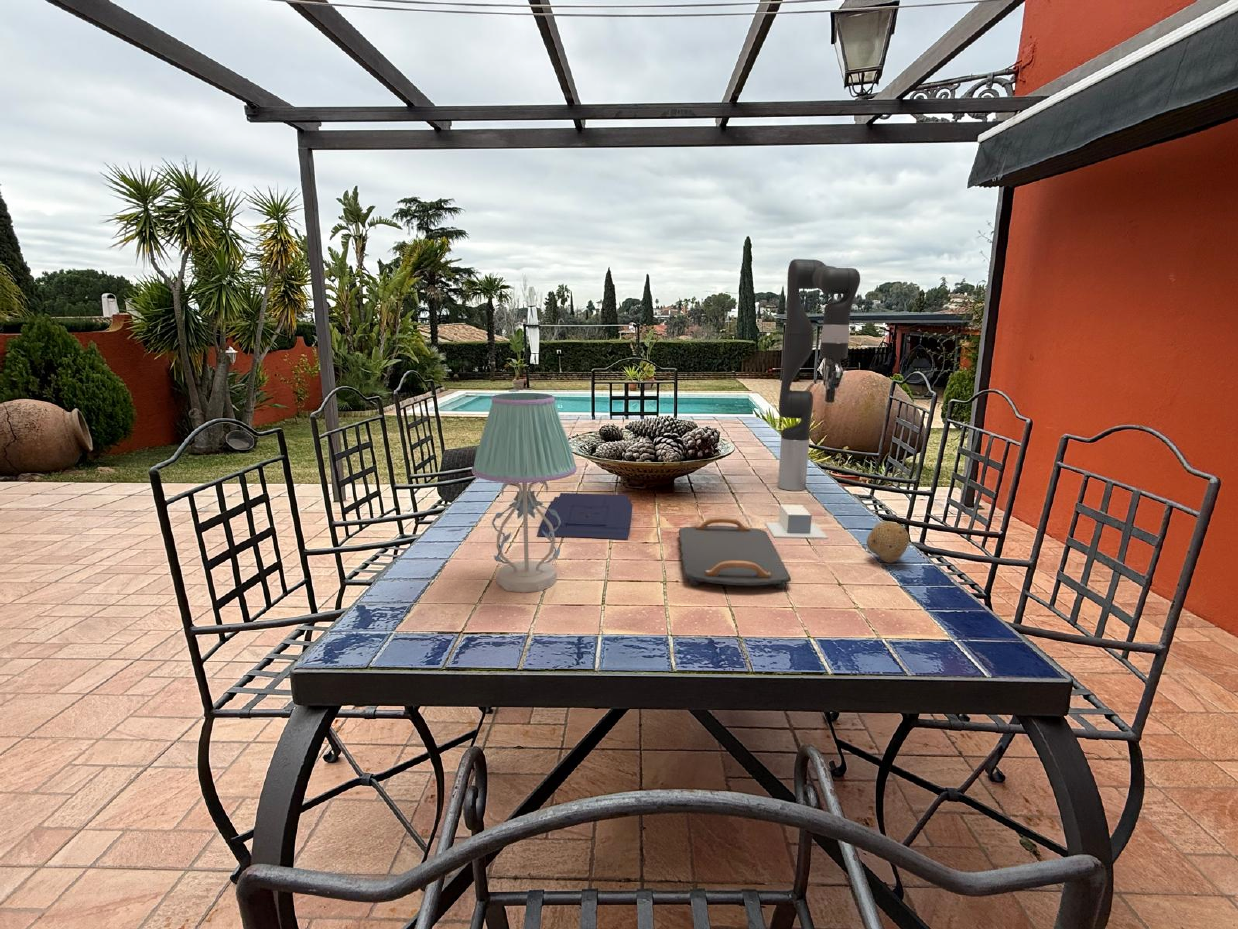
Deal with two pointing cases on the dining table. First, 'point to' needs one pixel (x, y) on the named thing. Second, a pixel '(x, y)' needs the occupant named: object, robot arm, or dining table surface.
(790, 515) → the block
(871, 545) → the potato
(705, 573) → the serving board
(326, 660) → the dining table surface
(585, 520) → the dark blue flat slab
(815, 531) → the mat
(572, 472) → the table lamp
